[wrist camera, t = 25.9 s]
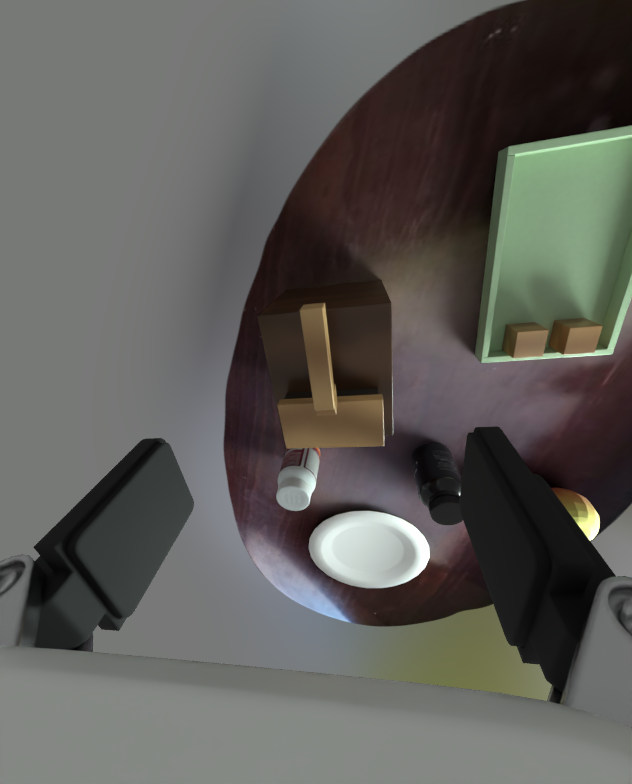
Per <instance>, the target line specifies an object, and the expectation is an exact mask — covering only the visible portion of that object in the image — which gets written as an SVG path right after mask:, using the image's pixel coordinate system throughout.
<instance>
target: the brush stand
mask: <svg viewBox="0 0 632 784" xmlns="http://www.w3.org/2000/svg"><path fill="white" fill-rule="evenodd" d="M316 303H325V308H326V317H327V326H328V335H329V344H330V353H331V362H332V371H333V380H334V384H336V390H348V389H366V388H378V390H379V394H382V396H383V412H384V436H385V435H393V382H392V311H391V301H390V299H389V297H388V294H387V292H386V290H385V287H384V285H383V283H382V280H375V281H366V282H357V283H348V284H339V285H330V286H322V287H313V288H304V289H295V290H286V291H285V292H284V293H283V294H282V295H281V296H279V297H278V298H277V299H276V300H275V301H274V302H273V303H272V304H271V305H269V306H268V307H267V308H266V309H265V310H264V311H263V312H262V313H260V314H259V315H258V316H257V317H258V322H259V326H260V331H261V336H262V340H263V345H264V350H265V354H266V359H267V364H268V368H269V373H270V378H271V383H272V387H273V392H274V397H275V401H276V406H277V405H278V402H279V400H280V399H285V396H286V394H287V393H295V392H312V390H311V384H310V377H309V370H308V363H307V357H306V350H305V343H304V336H303V330H302V323H301V316H300V309H301V308H302V306H303V305H306V304H316ZM277 411H278V406H277ZM278 415H279V411H278ZM279 420H280V416H279ZM280 425H281V420H280ZM281 429H282V425H281ZM282 434H283V430H282ZM283 439H284V435H283Z"/></svg>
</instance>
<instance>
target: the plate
mask: <svg viewBox="0 0 632 784" xmlns="http://www.w3.org/2000/svg"><path fill="white" fill-rule="evenodd" d="M309 552H310V555H311V558H312V560H313V561H314V562H315V564H316V565H317V567H318V568H320V569H321V570H322V571H323V572H324V573H326V574H327V575H328V576H330V577H332V578H334V579H336V580H338V581H340V582H343V583H346V584H349V585H352V586H358V587H364V588H385V587H391V586H396V585H399V584H402V583H405V582H407V581H409V580H411V579H412V578H414V577H416V576H417V575H419V573H420V572H421V571H422V570H423V569H424V568H425V567H426V564H427V562H428V559H429V545H428V543H427V541H426V539H425V537H424V535H423V534H422V533H421V532H420V531H419V530H418V529H417V528H416V527H415V526H414V525H412V524H411V523H409V522H407V521H406V520H404V519H402V518H400V517H397V516H394V515H391V514H388V513H385V512H379V511H372V510H356V511H348V512H344V513H340V514H336V515H334V516H332V517H330V518H328V519H326V520H324V521H322V522H321V523H320V524H319V525H318V526H317V527H316V528H315V529H314V531H313V533H312V534H311V536H310V539H309Z"/></svg>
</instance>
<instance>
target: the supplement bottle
mask: <svg viewBox="0 0 632 784" xmlns="http://www.w3.org/2000/svg"><path fill="white" fill-rule="evenodd" d="M411 463H412V468H413V473H414V477H415V481H416V486H417V490H418V495H419V498H420V500H421V502H422V503H423V504H424V505H425V506H426V507H428V509H429V511H430V515H431V517H432V519H433V520H434V521H435V522H436V523H439V524H442V525H454V524H457V523H460V522H461V521H462V520H463V517H462V515H461V511H460V505H459V500H460V491H461V483H462V477H461V475H460V472H459V470H458V467H457V465H456V462H455V460H454V457H453V455H452V453H451V451H450V450H449V449H448V448H447V447H446V446H444V445H442V444H439V443H426V444H423V445H421V446H419V447H418V448H416V449H415V451H414V452H413V454H412V456H411Z"/></svg>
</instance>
